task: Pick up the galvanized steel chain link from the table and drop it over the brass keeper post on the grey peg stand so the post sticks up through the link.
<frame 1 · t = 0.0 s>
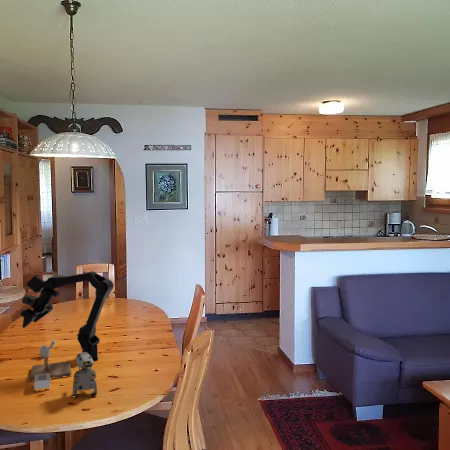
hand: (28, 324, 209), 15 cm above the table, tool tilted 35°, fingers open, 9 cm apart
grey peg stand: (51, 372, 190), on the table
figurine: (85, 393, 171), on the table
lighter: (48, 356, 209), on the table
steel link: (42, 386, 176), on the table
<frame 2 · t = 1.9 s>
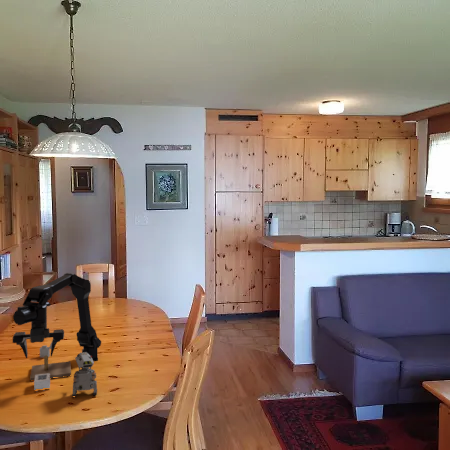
hand: (39, 356, 175), 12 cm above the table, tool pointing down, fingers open, 9 cm apart
nothing on the table moved.
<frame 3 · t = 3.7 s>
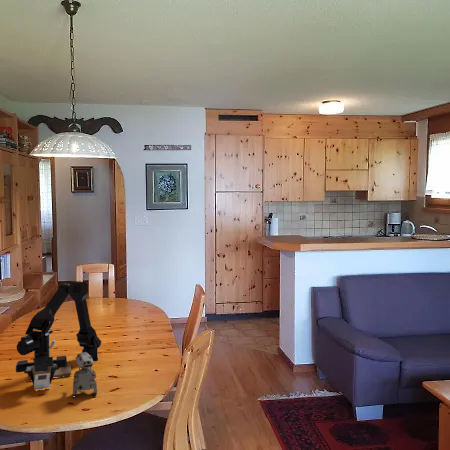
hand: (42, 384, 176), 1 cm above the table, tool pointing down, fingers closed on steel link, 6 cm apart
steel link: (42, 386, 176), on the table, touching gripper
everything else where it was.
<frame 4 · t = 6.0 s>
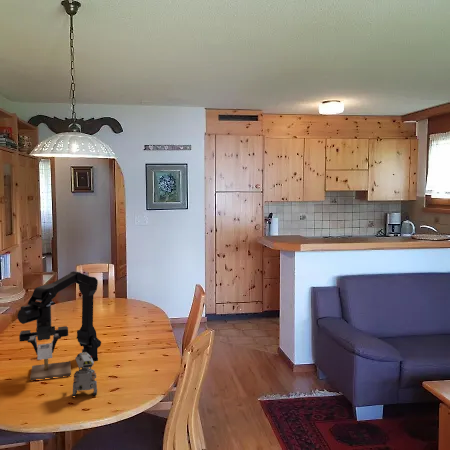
hand: (45, 353, 182), 11 cm above the table, tool pointing down, fingers closed on steel link, 6 cm apart
steel link: (45, 355, 183), point 10 cm above the table, touching gripper
everything else where it was.
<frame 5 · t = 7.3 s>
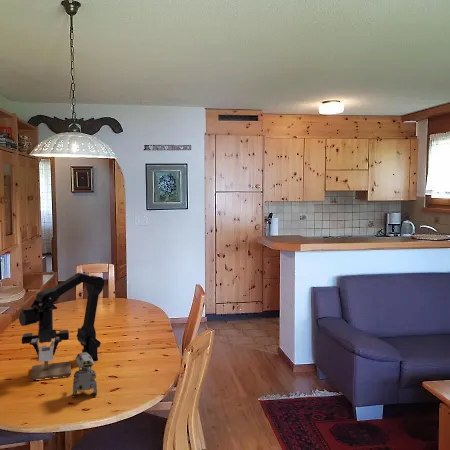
hand: (46, 355, 189), 8 cm above the table, tool pointing down, fingers closed on steel link, 6 cm apart
steel link: (46, 358, 189), point 7 cm above the table, touching gripper
everything else where it was.
when the fingers open (5 cm above the table, at t = 8.2 s): steel link drops 3 cm, resting on grey peg stand.
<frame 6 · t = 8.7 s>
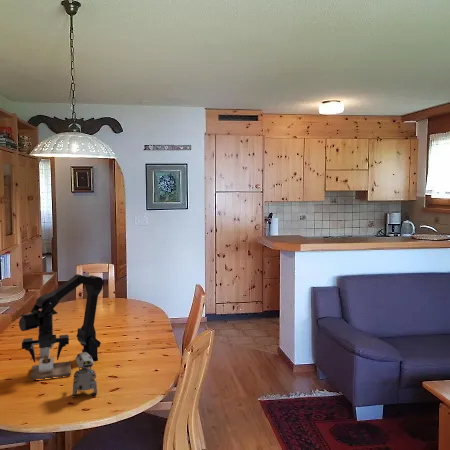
hand: (46, 360, 189), 5 cm above the table, tool pointing down, fingers open, 9 cm apart
steel link: (46, 369, 189), point 1 cm above the table, touching grey peg stand
everything else where it was.
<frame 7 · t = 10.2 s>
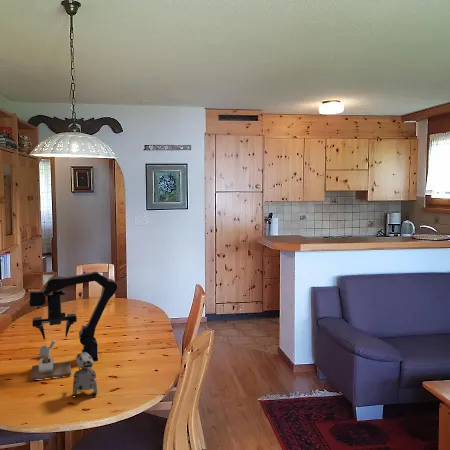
hand: (55, 338, 199), 12 cm above the table, tool pointing down, fingers open, 9 cm apart
nothing on the table moved.
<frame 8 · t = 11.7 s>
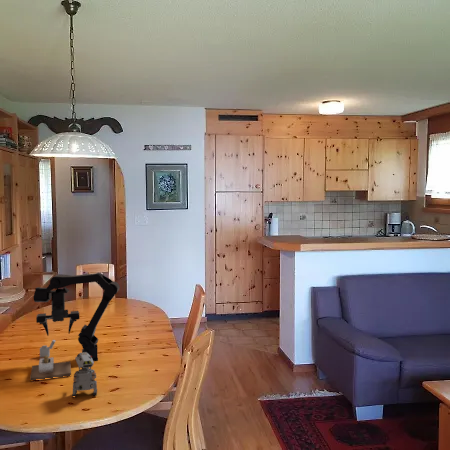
hand: (58, 334, 204), 12 cm above the table, tool pointing down, fingers open, 9 cm apart
nothing on the table moved.
at the end: steel link 0.1 cm from the target spot on the grey peg stand, point 1.5 cm above the grey peg stand's base; steel link tilted 0°; the gripper is holding nothing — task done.
